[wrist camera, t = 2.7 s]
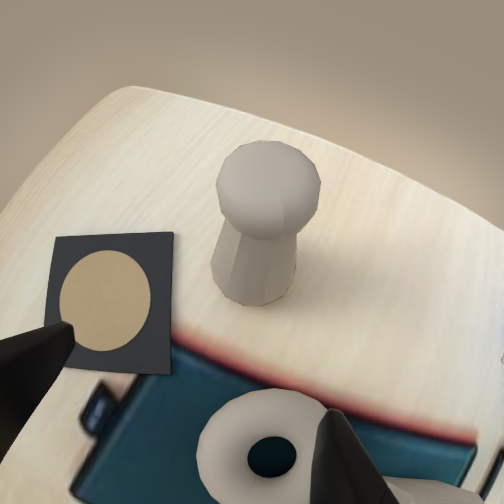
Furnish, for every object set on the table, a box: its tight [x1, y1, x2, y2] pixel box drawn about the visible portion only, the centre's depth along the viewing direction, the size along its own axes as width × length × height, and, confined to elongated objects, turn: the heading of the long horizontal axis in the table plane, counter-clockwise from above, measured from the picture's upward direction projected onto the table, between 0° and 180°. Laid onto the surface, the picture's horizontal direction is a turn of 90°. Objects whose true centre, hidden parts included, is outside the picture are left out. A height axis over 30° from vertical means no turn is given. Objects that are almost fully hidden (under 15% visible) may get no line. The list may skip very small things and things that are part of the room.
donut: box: [196, 388, 327, 504], centre depth 17 cm, size 10×4×10 cm
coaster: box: [44, 232, 174, 375], centre depth 22 cm, size 11×11×1 cm
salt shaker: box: [210, 141, 321, 306], centre depth 18 cm, size 6×6×13 cm
